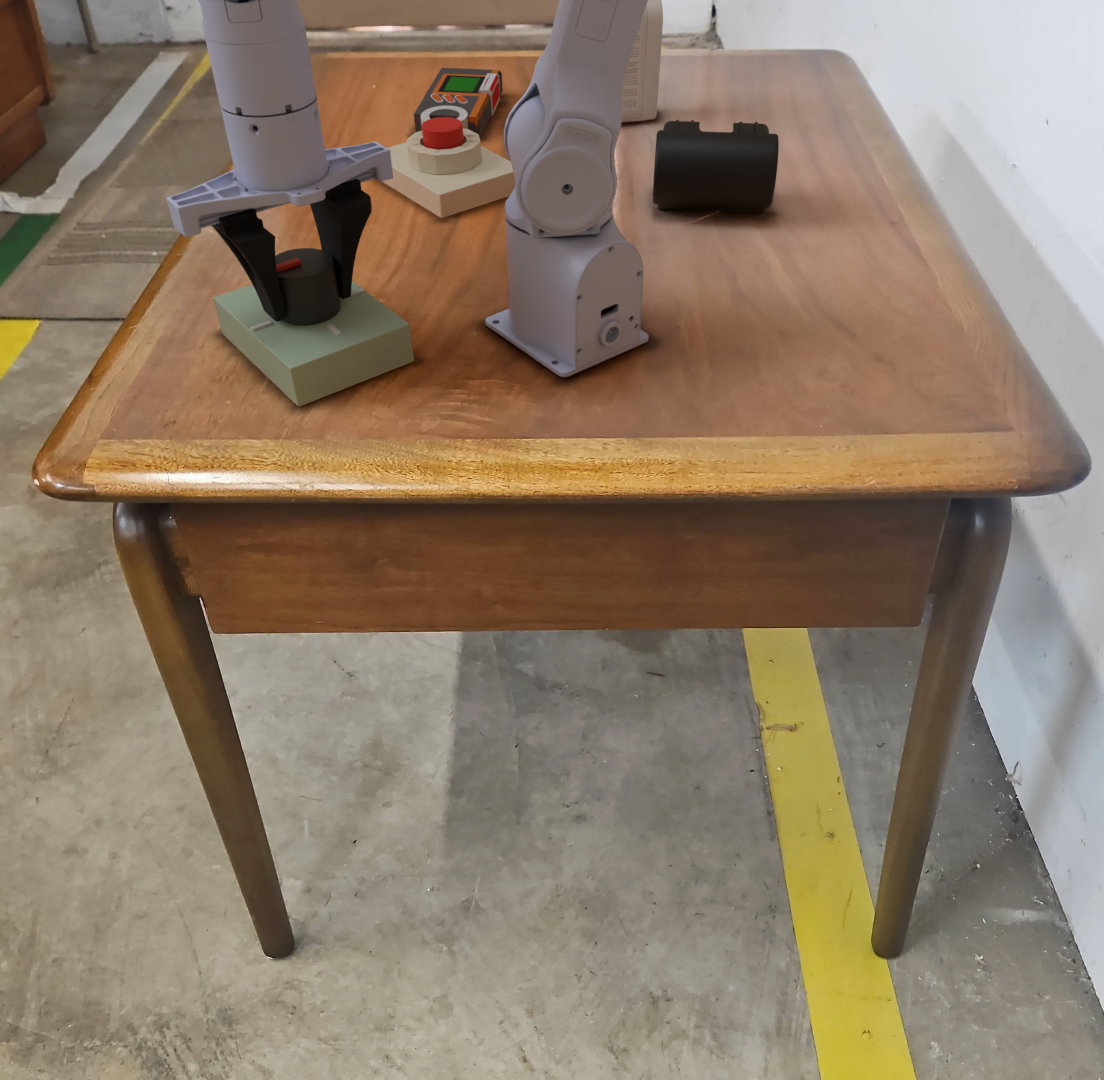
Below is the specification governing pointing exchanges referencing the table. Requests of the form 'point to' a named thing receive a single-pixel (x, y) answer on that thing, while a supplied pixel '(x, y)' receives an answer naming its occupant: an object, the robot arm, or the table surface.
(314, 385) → the dial panel
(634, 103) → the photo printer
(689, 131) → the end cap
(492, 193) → the button box
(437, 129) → the power button
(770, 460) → the table surface
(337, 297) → the dial
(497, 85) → the electronic device
